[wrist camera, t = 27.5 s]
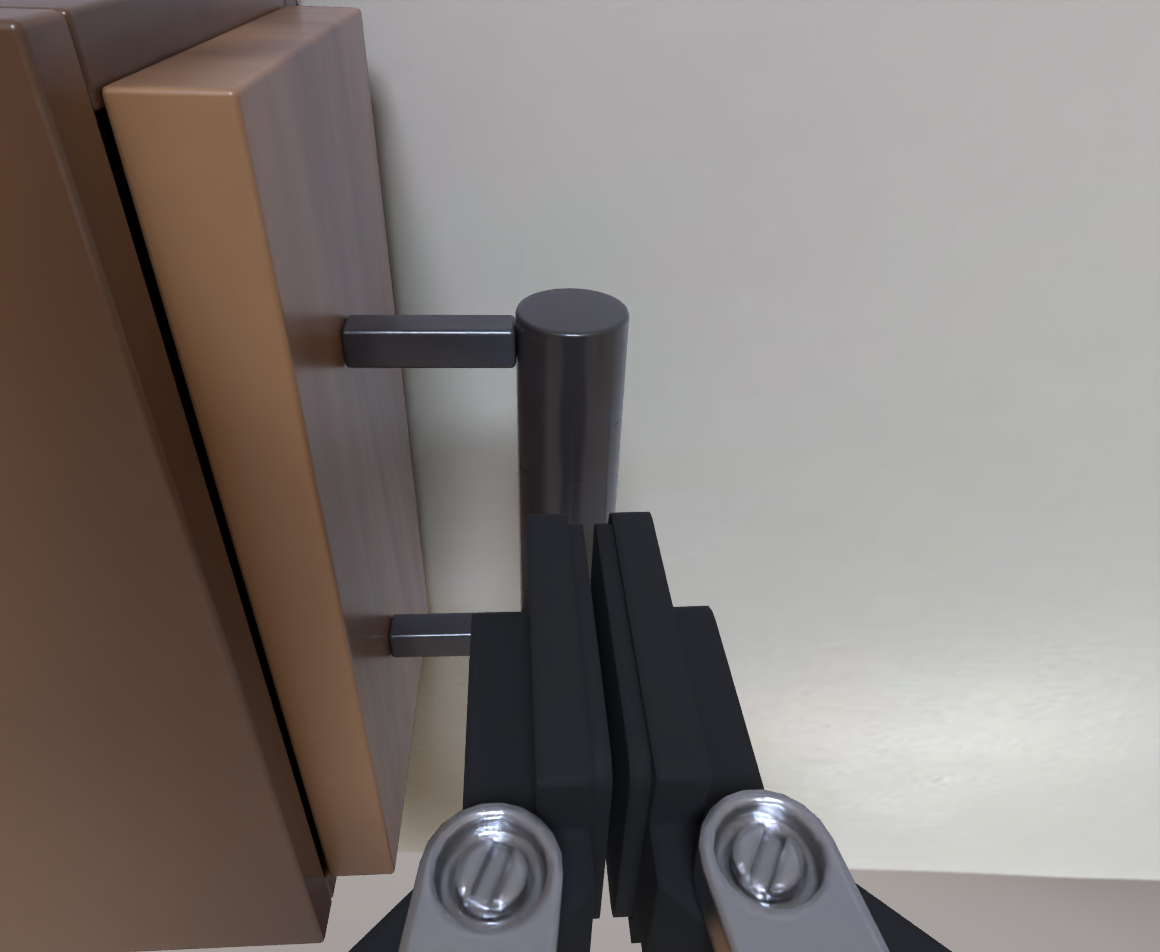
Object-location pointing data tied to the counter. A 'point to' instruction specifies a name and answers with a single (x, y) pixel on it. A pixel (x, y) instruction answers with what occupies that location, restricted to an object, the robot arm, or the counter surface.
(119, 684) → the cabinet
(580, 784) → the robot arm
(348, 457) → the drawer
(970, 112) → the counter surface
